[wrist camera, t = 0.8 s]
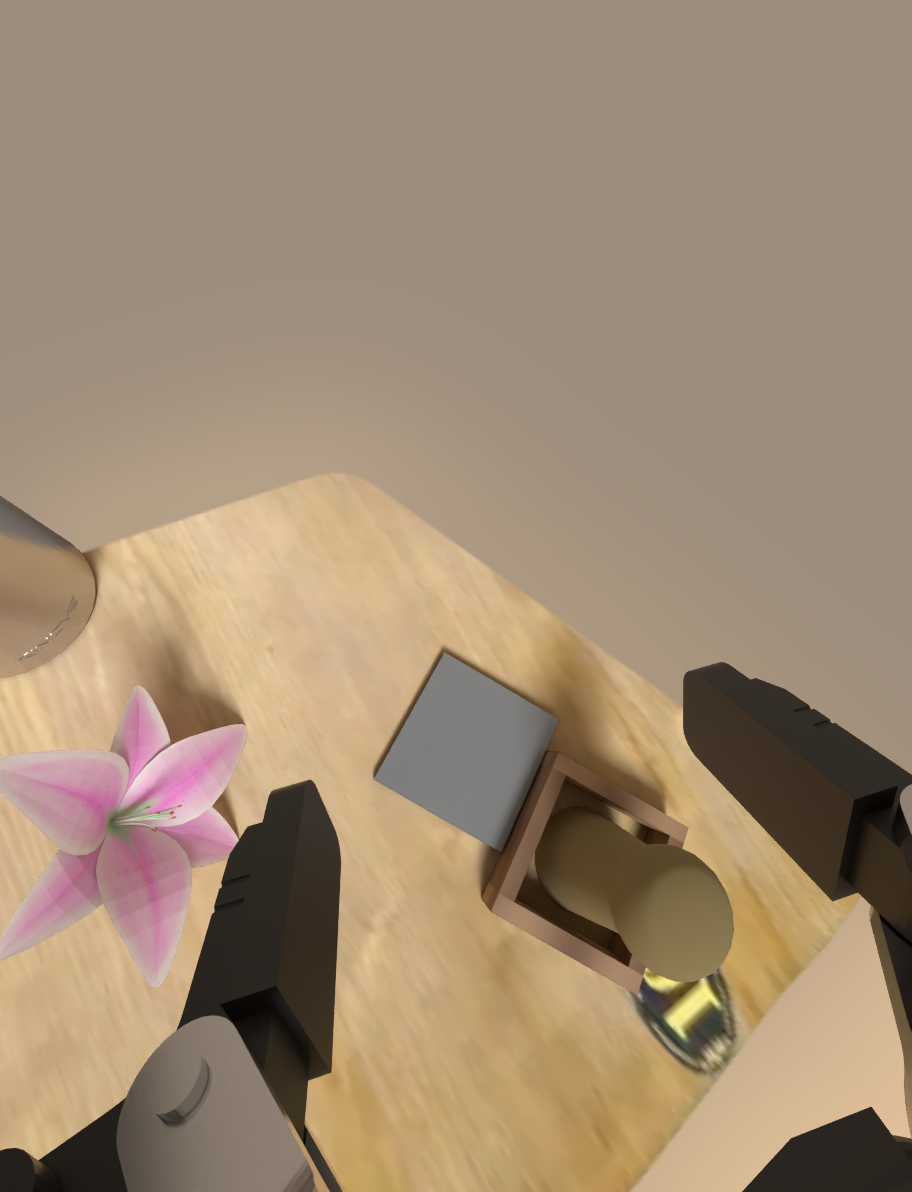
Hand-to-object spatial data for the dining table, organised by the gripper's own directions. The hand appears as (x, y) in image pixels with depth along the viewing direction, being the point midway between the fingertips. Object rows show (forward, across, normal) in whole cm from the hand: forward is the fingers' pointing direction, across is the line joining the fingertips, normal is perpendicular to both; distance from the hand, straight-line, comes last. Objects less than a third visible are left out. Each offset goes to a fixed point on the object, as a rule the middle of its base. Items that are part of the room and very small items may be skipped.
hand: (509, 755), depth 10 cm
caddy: (+12, -5, +22) cm, 25 cm away
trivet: (+16, 0, +14) cm, 22 cm away
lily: (+15, +17, +11) cm, 26 cm away
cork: (+12, -5, +22) cm, 25 cm away
